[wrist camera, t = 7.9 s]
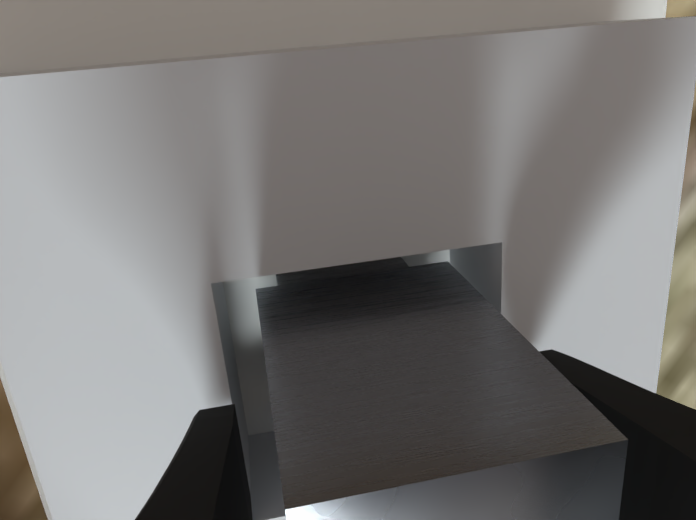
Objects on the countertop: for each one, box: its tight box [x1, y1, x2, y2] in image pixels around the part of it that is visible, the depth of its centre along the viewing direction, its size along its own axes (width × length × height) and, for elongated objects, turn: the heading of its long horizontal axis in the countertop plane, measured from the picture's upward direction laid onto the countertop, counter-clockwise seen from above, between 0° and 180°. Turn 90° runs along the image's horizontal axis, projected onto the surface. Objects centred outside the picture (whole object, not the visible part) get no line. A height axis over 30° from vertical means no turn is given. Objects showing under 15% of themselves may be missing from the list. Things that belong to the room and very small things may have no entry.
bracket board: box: [0, 0, 696, 520], centre depth 14 cm, size 18×16×4 cm
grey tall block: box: [256, 257, 628, 520], centre depth 11 cm, size 4×4×8 cm
